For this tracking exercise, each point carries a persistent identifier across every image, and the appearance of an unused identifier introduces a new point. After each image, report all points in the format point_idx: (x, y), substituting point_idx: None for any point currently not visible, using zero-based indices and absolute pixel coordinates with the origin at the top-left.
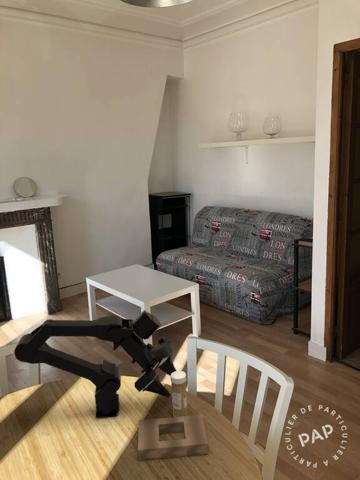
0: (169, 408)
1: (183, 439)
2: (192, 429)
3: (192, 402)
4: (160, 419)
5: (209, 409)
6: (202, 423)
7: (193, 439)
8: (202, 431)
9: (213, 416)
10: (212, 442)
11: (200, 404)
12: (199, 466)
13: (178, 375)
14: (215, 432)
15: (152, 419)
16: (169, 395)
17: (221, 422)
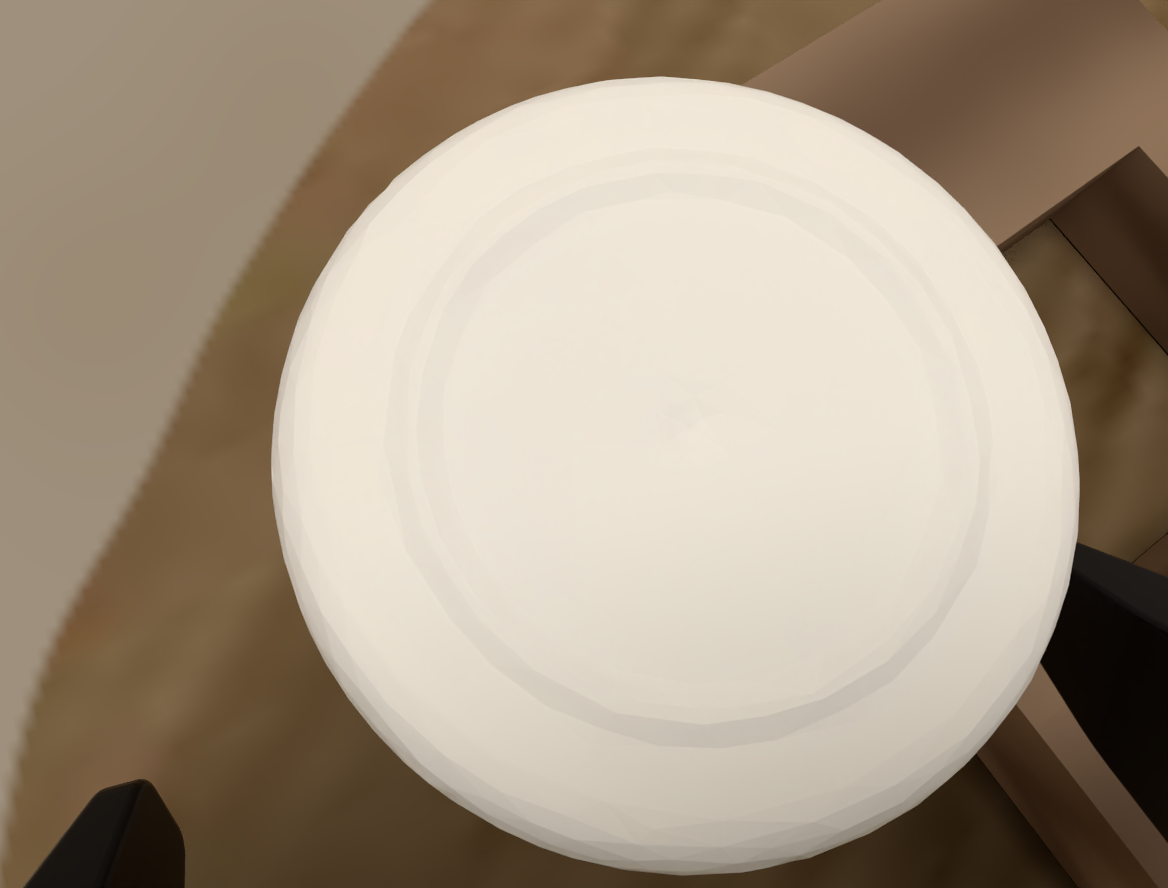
0: (490, 848)
1: (1160, 167)
2: (942, 151)
3: (189, 592)
4: (1030, 682)
5: (255, 291)
6: (765, 90)
7: (1087, 63)
8: (904, 28)
9: (378, 187)
10: (806, 27)
11: (191, 456)
12: (1157, 10)
13: (780, 359)
14: (645, 57)
15: (1110, 806)
16: (1084, 551)
17: (446, 62)
